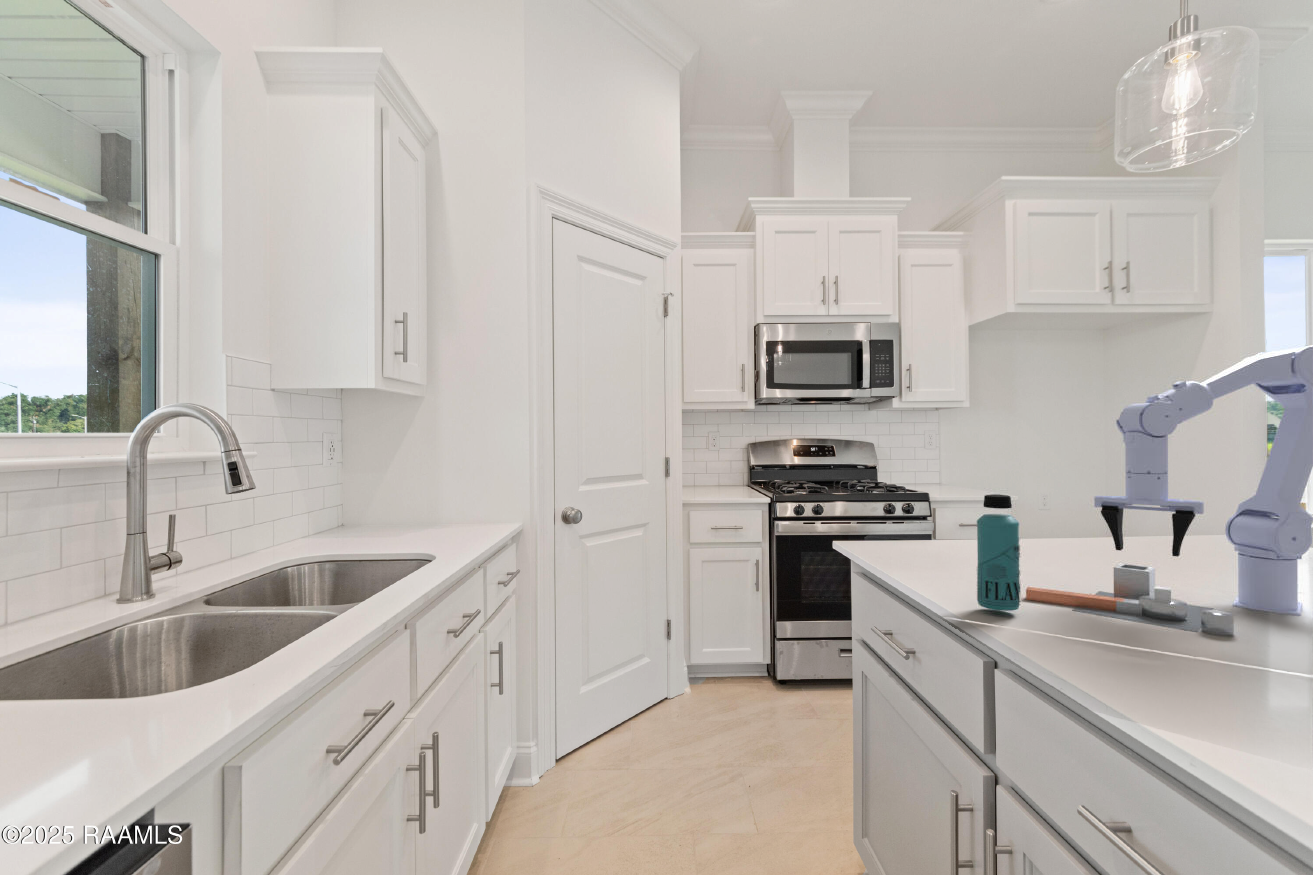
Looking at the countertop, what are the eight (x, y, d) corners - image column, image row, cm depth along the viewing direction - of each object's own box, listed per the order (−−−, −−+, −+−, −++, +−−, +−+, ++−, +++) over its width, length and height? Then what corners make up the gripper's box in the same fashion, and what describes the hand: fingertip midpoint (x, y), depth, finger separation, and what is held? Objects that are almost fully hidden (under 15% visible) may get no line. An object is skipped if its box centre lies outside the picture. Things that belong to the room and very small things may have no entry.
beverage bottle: (978, 617, 101) (977, 495, 101) (974, 607, 107) (973, 492, 107) (1024, 622, 99) (1023, 497, 99) (1017, 610, 105) (1016, 493, 105)
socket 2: (1202, 629, 95) (1202, 608, 94) (1235, 634, 92) (1235, 613, 92) (1199, 634, 92) (1199, 613, 92) (1232, 640, 89) (1232, 618, 89)
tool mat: (1099, 592, 116) (1099, 590, 116) (1213, 609, 104) (1213, 608, 104) (1071, 612, 104) (1071, 610, 104) (1197, 634, 92) (1197, 632, 92)
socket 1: (1120, 595, 112) (1120, 563, 112) (1155, 601, 109) (1155, 567, 109) (1113, 601, 109) (1113, 567, 109) (1149, 606, 105) (1149, 571, 105)
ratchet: (1185, 614, 101) (1185, 587, 101) (1188, 623, 96) (1188, 594, 96) (1029, 594, 114) (1029, 570, 114) (1024, 601, 109) (1024, 576, 109)
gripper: (1089, 472, 108) (1090, 550, 108) (1199, 476, 98) (1200, 561, 98) (1099, 470, 113) (1100, 544, 113) (1205, 473, 103) (1205, 555, 103)
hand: (1146, 552), depth 106 cm, fingers open, 7 cm apart
